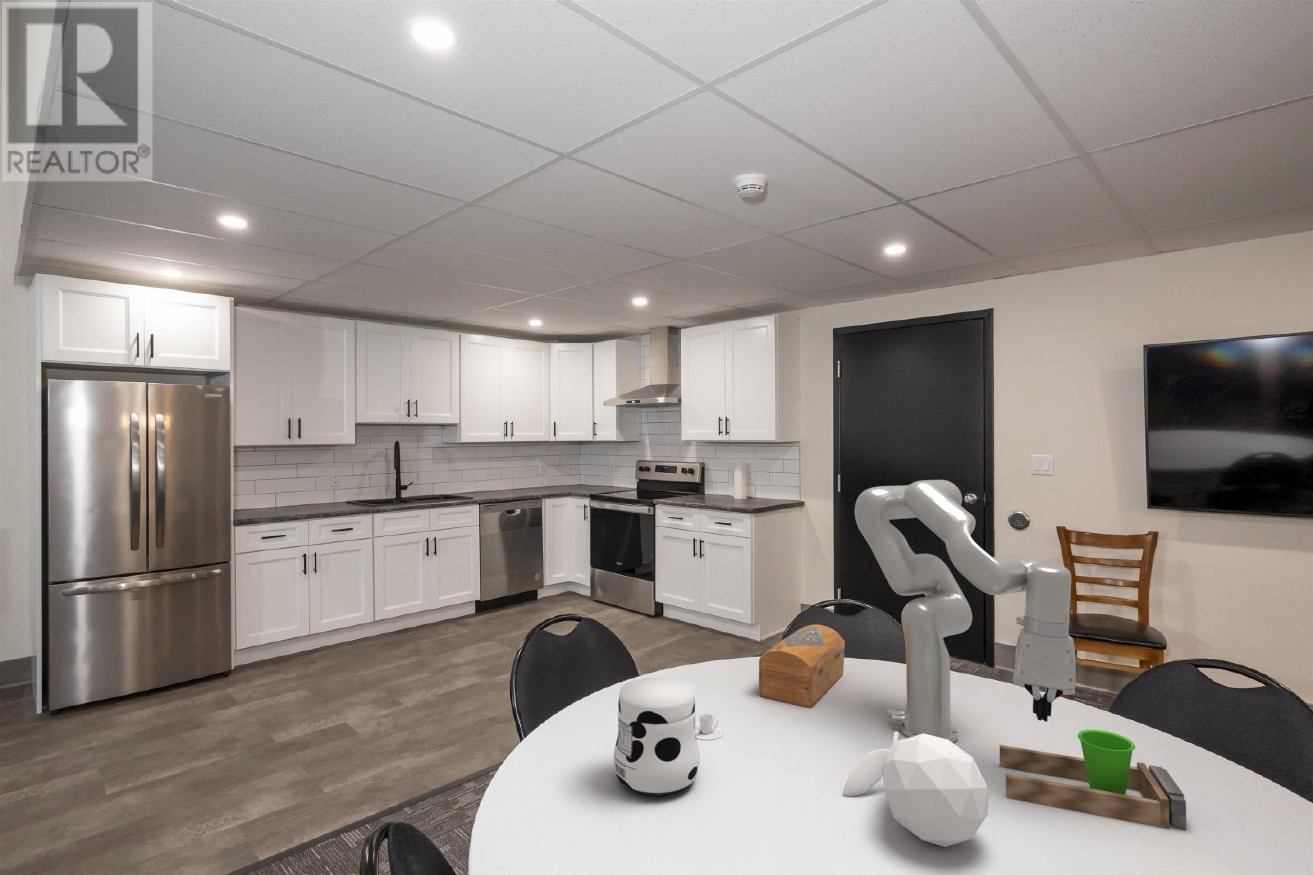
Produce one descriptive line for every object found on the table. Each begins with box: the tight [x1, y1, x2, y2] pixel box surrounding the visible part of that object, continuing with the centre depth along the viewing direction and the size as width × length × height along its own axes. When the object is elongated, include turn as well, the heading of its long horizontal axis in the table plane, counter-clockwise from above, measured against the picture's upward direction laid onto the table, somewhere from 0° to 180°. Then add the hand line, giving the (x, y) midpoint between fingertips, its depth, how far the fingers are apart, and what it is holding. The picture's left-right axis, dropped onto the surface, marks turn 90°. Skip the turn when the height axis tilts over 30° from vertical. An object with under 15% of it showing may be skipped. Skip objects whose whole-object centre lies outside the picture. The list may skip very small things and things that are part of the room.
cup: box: [1077, 729, 1136, 795], centre depth 123 cm, size 9×9×11 cm
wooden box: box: [758, 624, 846, 709], centre depth 182 cm, size 30×16×14 cm, turn 147°
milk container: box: [613, 677, 701, 796], centre depth 130 cm, size 17×17×18 cm
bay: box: [999, 744, 1187, 831], centre depth 124 cm, size 28×14×5 cm, turn 67°
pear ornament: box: [842, 730, 989, 848], centre depth 116 cm, size 16×22×28 cm
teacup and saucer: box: [695, 713, 724, 741], centre depth 151 cm, size 9×8×4 cm
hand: (1041, 718), depth 128 cm, fingers closed
